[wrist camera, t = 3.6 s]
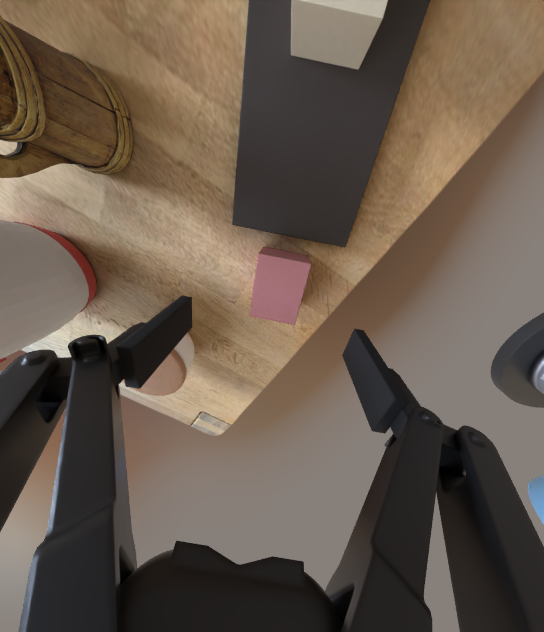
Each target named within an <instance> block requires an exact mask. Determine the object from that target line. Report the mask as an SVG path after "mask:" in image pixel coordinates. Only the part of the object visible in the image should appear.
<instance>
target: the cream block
mask: <svg viewBox="0 0 544 632" xmlns="http://www.w3.org/2000/svg"><path fill="white" fill-rule="evenodd" d="M387 2H388V0H292V9H291V55H292V56H297V57H302V58H306V59H311V60H315V61H320V62H325V63H329V64H334V65H339V66H343V67H348V68H352V69H357V70H358V69H359V67H360V65H361V63H362V61H363V59H364V57H365V55H366V53H367V51H368V49H369V46H370V44H371V42H372V40H373V38H374V36H375V34H376V32H377V30H378V28H379V26H380V23H381V21H382V19H383V17H384V13H385V9H386V6H387Z"/></svg>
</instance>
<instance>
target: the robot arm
mask: <svg viewBox="0 0 544 632" xmlns="http://www.w3.org/2000/svg"><path fill="white" fill-rule="evenodd" d="M191 328H192V297H187V296H181V297H179V298H178V299H177V300H176V301H174V302H173V303H172V304H170V305H169V306H168V307H167V308H165V309H164V310H163V311H161V312H160V313H159V314H157V315H156V316H155V317H154V318H152V319H151V320H150V321H148V322H147V323H143V322H141V323H139V324H136V325H133V326H132V327H130V328H129V329H128V330H126V331H125V332H124V333H122V334H121V335H119V336H118V337H117V338H115V339H114V340H112V341H111V342H110V343H108V344H107V342H106V339H105V337H103V336H101V335H87V336H83V337H80V338H77V339H75V340H73V341H72V342H70V343H69V345H68V349H69V351H70V354H71V356H72V357H69V358H58V357H57V355H56V353H55V352H54V351H52V350H38V351H32V352H29V353H26V354H24V355H22V356H20V357H18V358H17V359H15V360H14V361H13V362H12V363H11V364H10V365H9V366H8V367H7V368H6V369H5V370H4V371H3V372H2V373H1V374H0V531H1V529H2V527H3V526H4V524H5V522H6V520H7V518H8V516H9V514H10V512H11V511H12V508H13V507H14V505H15V503H16V501H17V499H18V497H19V495H20V493H21V491H22V490H23V488H24V486H25V484H26V482H27V480H28V478H29V476H30V474H31V472H32V470H33V469H34V467H35V465H36V463H37V461H38V459H39V457H40V455H41V453H42V451H43V450H44V448H45V446H46V444H47V442H48V440H49V438H50V436H51V434H52V432H53V430H54V428H55V427H56V425H57V423H58V421H59V419H60V417H61V415H62V413H63V411H64V409H65V408H66V411H65V418H64V425H63V431H62V437H61V444H60V450H59V457H58V464H57V470H56V477H55V483H54V490H53V496H52V503H51V509H50V516H49V523H48V530H47V534H46V537H45V539H44V541H43V542H42V543H41V544H40V545H39V546H38V547H37V549H36V551H35V554H34V556H33V559H32V563H31V567H30V572H29V577H28V583H27V588H26V594H25V599H24V605H23V610H22V616H21V621H20V628H19V632H432V617H431V612H430V610H429V608H428V607H427V605H426V604H425V602H424V585H425V577H426V569H427V561H428V553H429V544H430V537H431V528H432V520H433V512H434V504H435V495H436V492H437V498H438V504H439V510H440V516H441V521H442V528H443V533H444V540H445V546H446V551H447V557H448V563H449V569H450V574H451V581H452V587H453V593H454V598H455V605H456V611H457V617H458V622H459V628H460V632H544V547H543V545H542V542H541V541H540V538H539V536H538V534H537V532H536V530H535V528H534V526H533V524H532V522H531V520H530V518H529V516H528V513H527V511H526V509H525V507H524V505H523V503H522V501H521V499H520V497H519V495H518V493H517V491H516V489H515V487H514V484H513V483H512V480H511V478H510V476H509V474H508V472H507V470H506V468H505V466H504V464H503V462H502V460H501V458H500V456H499V454H498V451H497V449H496V447H495V446H494V445H493V443H492V442H491V441H490V440H489V439H488V438H487V437H486V436H485V435H484V434H483V433H481V432H480V431H478V430H476V429H474V428H472V427H469V426H462V427H461V428H460V429H459V430H455V429H453V428H450V427H448V426H446V425H444V424H443V423H442V422H441V420H440V419H439V418H438V417H437V416H436V415H435V414H434V413H432V412H431V411H430V410H428V409H426V408H424V407H421V406H420V404H419V403H418V402H417V400H416V399H415V397H414V396H413V394H412V393H411V391H410V390H409V389H408V388H407V386H406V384H405V383H404V381H403V380H402V379H401V377H400V376H399V375H398V374H397V373H396V372H395V371H394V370H393V369H390V368H388V367H387V365H386V364H385V362H384V361H383V359H382V358H381V356H380V355H379V353H378V352H377V350H376V349H375V347H374V346H373V344H372V343H371V341H370V339H369V338H368V337H367V335H366V333H365V332H364V331H363V330H359V329H354V331H353V333H352V335H351V337H350V339H349V342H348V344H347V346H346V348H345V350H344V353H343V355H342V356H343V358H344V361H345V363H346V366H347V368H348V371H349V374H350V376H351V378H352V381H353V384H354V386H355V389H356V391H357V394H358V396H359V399H360V402H361V404H362V407H363V409H364V412H365V415H366V417H367V420H368V422H369V425H370V427H371V430H372V431H375V432H380V433H386V431H387V430H388V429H389V428H390V427H391V429H392V431H393V433H394V434H393V435H392V436H391V437H390V439H389V440H388V441H387V442H386V444H385V446H387V448H386V450H385V452H384V455H383V457H382V460H381V463H380V465H379V467H378V470H377V472H376V475H375V477H374V480H373V482H372V485H371V487H370V490H369V492H368V495H367V497H366V500H365V502H364V505H363V507H362V510H361V512H360V515H359V517H358V520H357V522H356V525H355V527H354V530H353V532H352V535H351V537H350V540H349V542H348V545H347V547H346V549H345V552H344V554H343V557H342V559H341V562H340V564H339V566H338V568H337V570H336V571H335V573H334V574H333V576H332V578H331V580H330V582H329V584H328V585H327V588H326V590H325V591H324V590H323V589H322V588H321V587H320V585H319V584H318V583H317V582H316V581H315V580H314V579H313V578H311V577H310V576H309V575H308V574H307V573H305V572H304V563H303V562H302V561H296V560H290V559H284V558H278V557H269V558H265V559H261V560H257V561H254V562H250V563H246V564H242V565H238V564H236V563H234V562H232V561H231V560H229V559H228V558H226V557H224V556H223V555H221V554H220V553H218V552H217V551H215V550H213V549H212V548H210V547H209V546H205V545H199V544H193V543H187V542H180V541H176V543H175V547H174V549H173V550H170V551H166V552H164V553H161V554H159V555H157V556H155V557H153V558H152V559H150V560H149V561H147V562H146V563H144V564H143V565H141V566H140V567H139V568H138V569H137V561H136V552H135V545H134V540H133V535H132V527H131V516H130V504H129V493H128V482H127V469H126V458H125V447H124V435H123V425H122V413H121V412H122V411H121V400H120V388H119V384H120V382H121V381H122V380H123V379H124V381H125V385H126V387H131V388H137V389H140V388H141V387H142V386H143V385H144V384H145V382H146V381H147V380H148V379H149V378H150V376H151V375H152V374H153V373H154V372H155V371H156V369H157V368H158V367H159V366H160V365H161V363H162V362H163V361H164V360H165V359H166V357H167V356H168V355H169V354H170V353H171V352H172V350H173V349H174V348H175V347H176V346H177V344H178V343H179V342H180V341H181V340H182V338H183V337H184V336H185V335H186V334H187V333H188V331H189V330H190V329H191ZM528 380H529V383H530V384H531V385H532V386H533V387H534V388H535V389H536V390H538V391H539V392H541V393H542V394H544V350H543V351H542V352H541V353H540V354H539V355H538V356H537V357H536V358H535V360H534V361H533V362H532V364H531V366H530V368H529V371H528ZM528 494H529V498H530V501H531V503H532V505H533V507H534V509H535V511H536V513H537V515H538V516H539V518H540V520H541V521H542V523H543V524H544V475H542V476H539V477H537V478H535V479H533V480H531V481H530V482H529V484H528Z"/></svg>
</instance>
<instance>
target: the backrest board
mask: <svg viewBox="0 0 544 632" xmlns="http://www.w3.org/2000/svg"><path fill="white" fill-rule="evenodd" d="M429 2H430V0H388V2H387V6H386V9H385V13H384V17H383V19H382V21H381V23H380V26H379V28H378V30H377V32H376V34H375V36H374V38H373V40H372V42H371V44H370V46H369V49H368V51H367V53H366V55H365V57H364V59H363V61H362V63H361V65H360V67H359V69H358V70H357V69H352V68H348V67H343V66H339V65H334V64H329V63H325V62H320V61H315V60H311V59H306V58H302V57H297V56H292V55H291V9H292V0H249V7H248V20H247V33H246V47H245V60H244V74H243V87H242V101H241V114H240V127H239V141H238V154H237V168H236V181H235V195H234V208H233V222H232V225H236V226H241V227H246V228H251V229H256V230H261V231H266V232H271V233H276V234H281V235H286V236H291V237H296V238H301V239H306V240H310V241H315V242H320V243H325V244H330V245H335V246H340V247H346V244H347V241H348V238H349V235H350V232H351V229H352V226H353V224H354V221H355V218H356V215H357V212H358V209H359V206H360V203H361V200H362V197H363V194H364V191H365V189H366V186H367V183H368V180H369V177H370V174H371V171H372V168H373V165H374V162H375V159H376V156H377V154H378V151H379V148H380V145H381V142H382V139H383V136H384V133H385V130H386V127H387V124H388V121H389V119H390V116H391V113H392V110H393V107H394V104H395V101H396V98H397V95H398V92H399V89H400V86H401V84H402V81H403V78H404V75H405V72H406V69H407V66H408V63H409V60H410V57H411V54H412V51H413V49H414V46H415V43H416V40H417V37H418V34H419V31H420V28H421V25H422V22H423V19H424V16H425V14H426V11H427V8H428V5H429Z"/></svg>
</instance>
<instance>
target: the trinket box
mask: <svg viewBox="0 0 544 632" xmlns="http://www.w3.org/2000/svg"><path fill="white" fill-rule="evenodd" d="M194 357H195V348H194V344H193V341H192V339H191V337H190V335H189V333H187V334H186V335H185V336H184V337H183V338H182V340H181V341H180V342H179V343H178V344H177V346H176V347H175V348H174V349H173V350H172V352H171V353H170V354H169V355H168V356H167V357H166V359H165V360H164V361H163V362H162V363H161V365H160V366H159V367H158V368H157V369H156V371H155V372H154V373H153V374H152V375H151V376H150V378H149V379H148V380H147V381H146V382H145V384H144V385H143V386H142V387H141V388H140V389H137V388H132V389H134V390H136V391H139V392H141V393H145V394H149V395H155V396H163V395H168V394H172V393H174V392H176V391H177V390H178V389H179V388H180V387H181V386H182V384H183V383H184V381H185V378H186V376H187V375H188V373H189V371H190V369H191V367H192V364H193V361H194ZM122 382H123V383H125V381H124V379H123V380H122Z"/></svg>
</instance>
